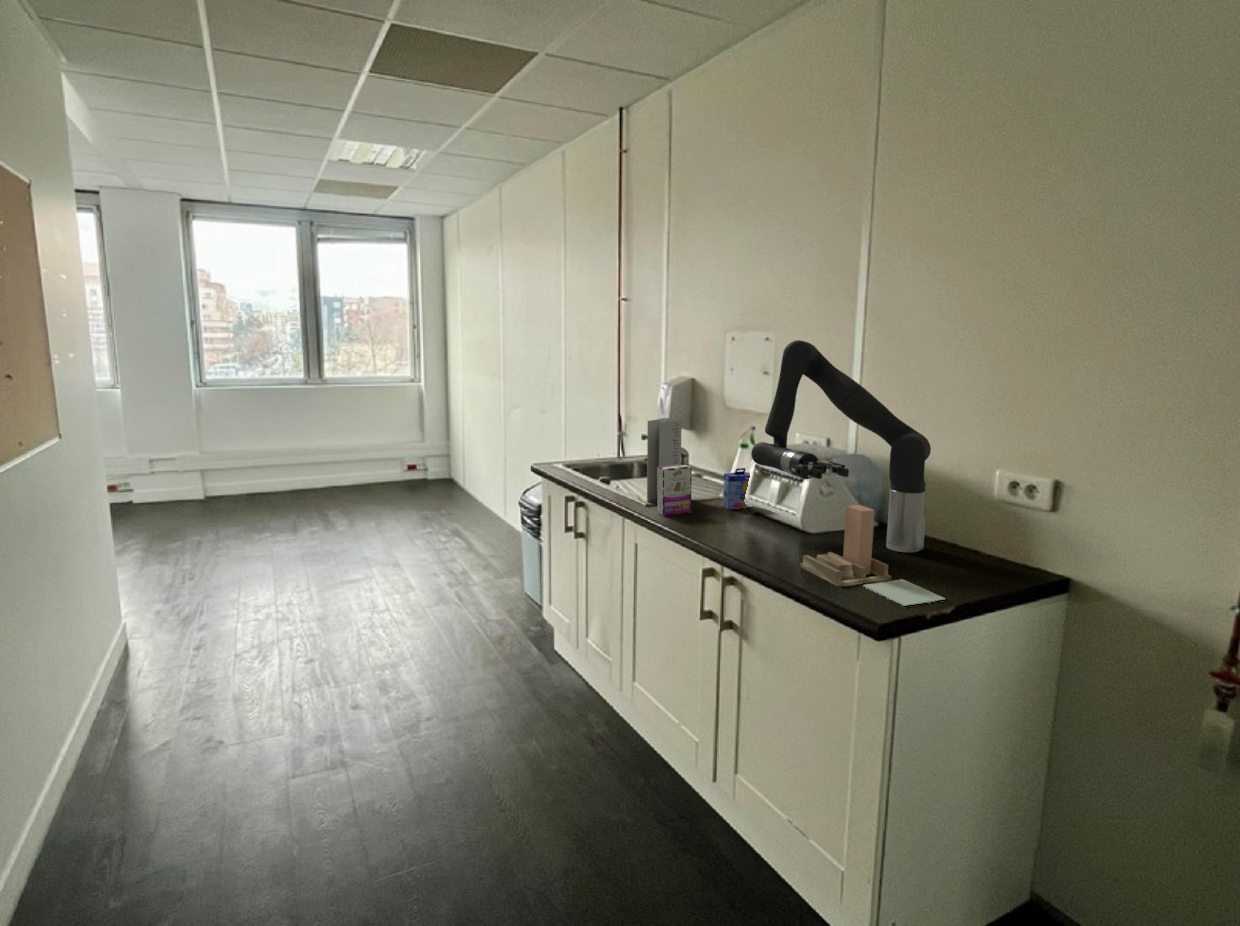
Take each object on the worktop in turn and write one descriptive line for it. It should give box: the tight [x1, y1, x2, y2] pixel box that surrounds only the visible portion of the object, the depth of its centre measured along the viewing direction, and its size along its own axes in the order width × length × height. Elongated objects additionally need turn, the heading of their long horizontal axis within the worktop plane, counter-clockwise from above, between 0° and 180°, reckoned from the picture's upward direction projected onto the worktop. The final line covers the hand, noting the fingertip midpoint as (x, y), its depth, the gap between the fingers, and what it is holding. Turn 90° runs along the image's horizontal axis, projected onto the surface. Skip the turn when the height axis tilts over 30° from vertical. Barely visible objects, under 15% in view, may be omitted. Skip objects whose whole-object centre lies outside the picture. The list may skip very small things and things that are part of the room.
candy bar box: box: [656, 464, 692, 517], centre depth 242 cm, size 11×5×16 cm, turn 114°
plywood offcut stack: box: [816, 553, 855, 581], centre depth 180 cm, size 4×11×4 cm, turn 18°
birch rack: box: [799, 551, 892, 588], centre depth 182 cm, size 16×16×4 cm
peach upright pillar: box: [842, 504, 875, 576], centre depth 182 cm, size 4×6×17 cm, turn 20°
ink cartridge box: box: [722, 467, 751, 510], centre depth 250 cm, size 10×6×14 cm, turn 104°
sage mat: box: [862, 578, 946, 607], centre depth 167 cm, size 12×14×1 cm
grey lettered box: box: [646, 417, 683, 503], centre depth 261 cm, size 14×6×30 cm, turn 143°
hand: (834, 474), depth 189 cm, fingers open, 8 cm apart
